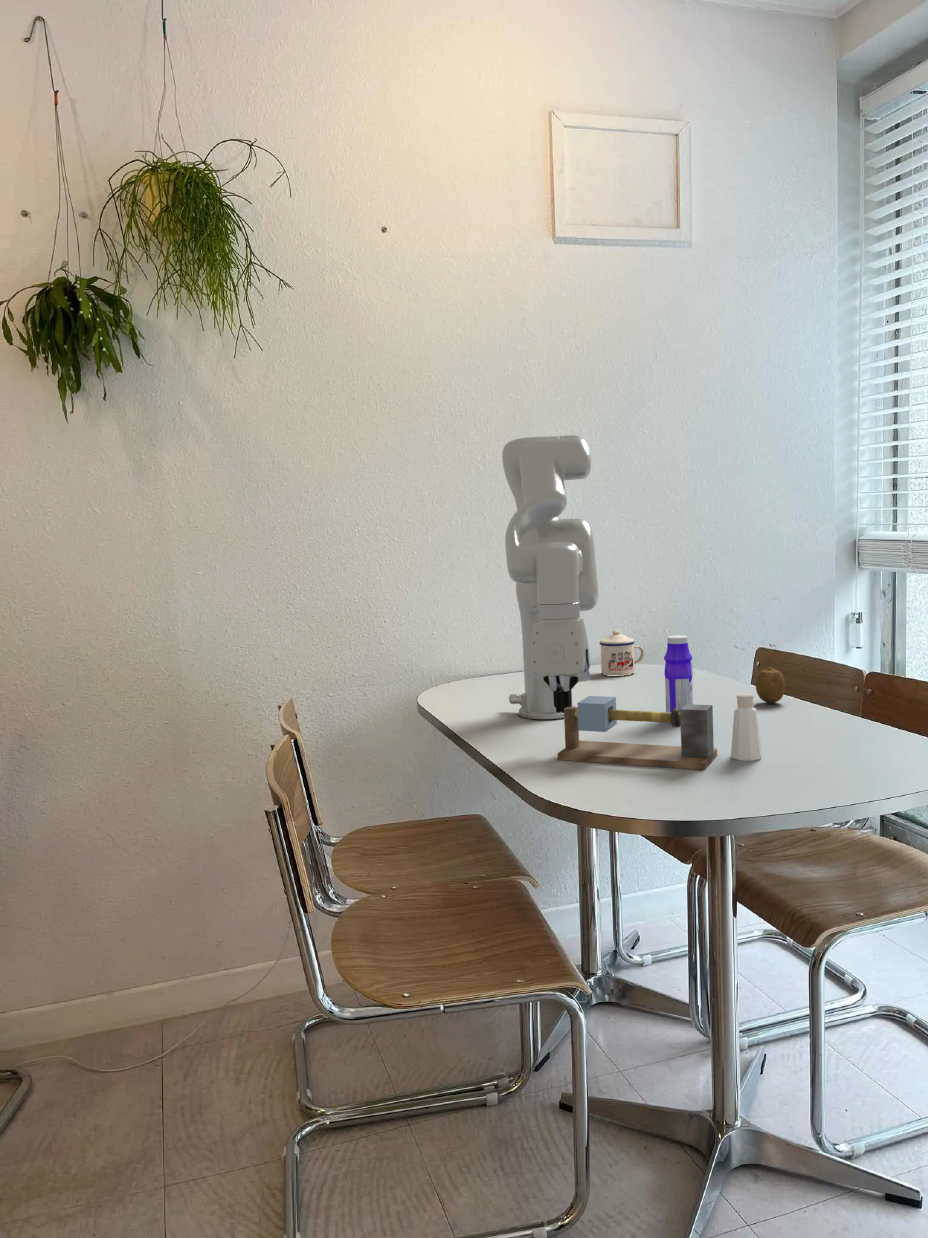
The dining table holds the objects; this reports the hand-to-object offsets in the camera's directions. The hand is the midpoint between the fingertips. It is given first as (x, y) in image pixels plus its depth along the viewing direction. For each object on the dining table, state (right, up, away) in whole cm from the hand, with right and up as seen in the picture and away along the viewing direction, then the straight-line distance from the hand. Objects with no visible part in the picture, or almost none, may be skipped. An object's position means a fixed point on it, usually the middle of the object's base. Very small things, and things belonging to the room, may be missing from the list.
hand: (563, 711), depth 180 cm
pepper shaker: (+31, -7, -12) cm, 33 cm away
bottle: (+26, -4, +20) cm, 33 cm away
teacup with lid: (+24, +2, +78) cm, 82 cm away
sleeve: (+6, -2, -5) cm, 8 cm away
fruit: (+48, -2, +31) cm, 57 cm away
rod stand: (+12, -7, -8) cm, 16 cm away
